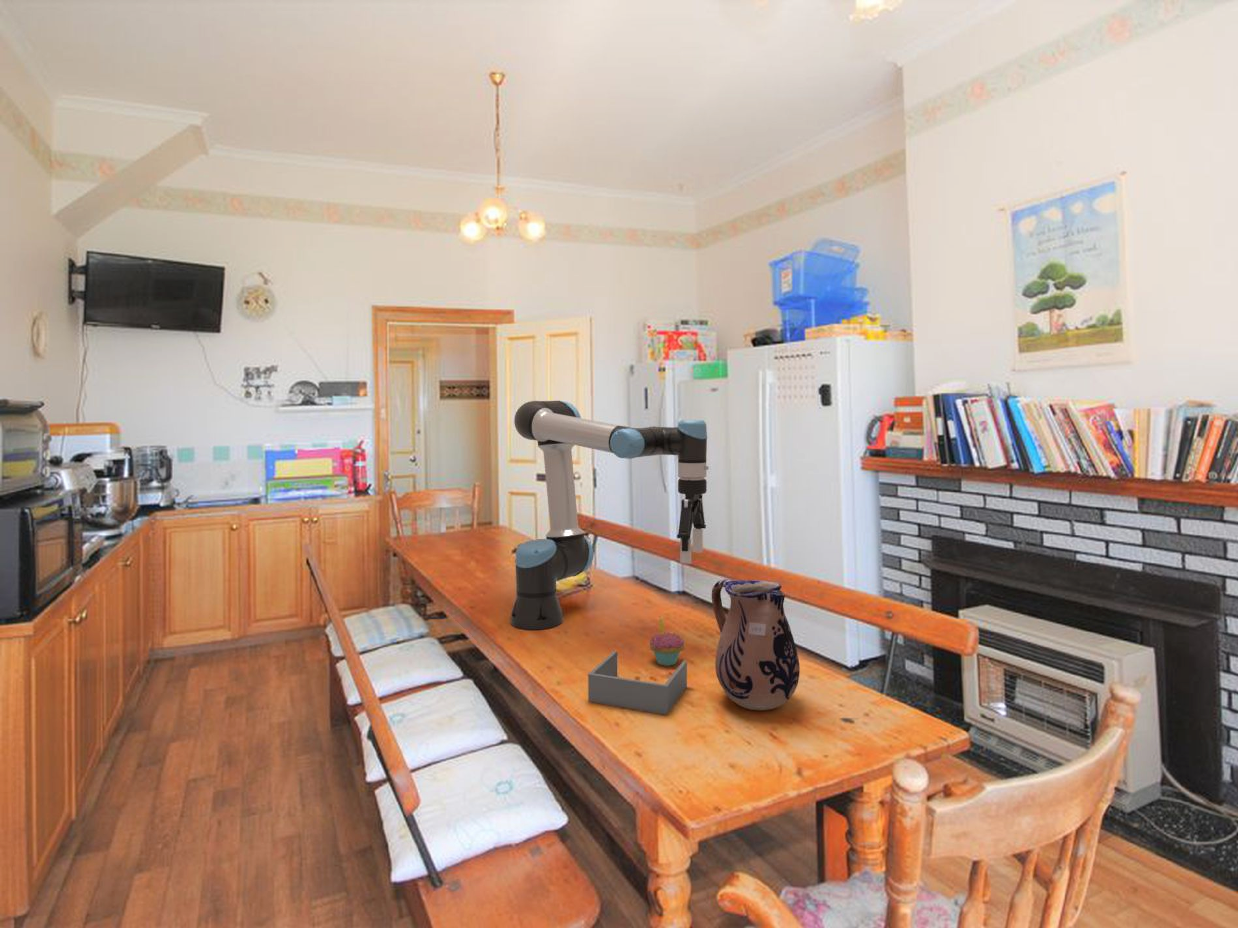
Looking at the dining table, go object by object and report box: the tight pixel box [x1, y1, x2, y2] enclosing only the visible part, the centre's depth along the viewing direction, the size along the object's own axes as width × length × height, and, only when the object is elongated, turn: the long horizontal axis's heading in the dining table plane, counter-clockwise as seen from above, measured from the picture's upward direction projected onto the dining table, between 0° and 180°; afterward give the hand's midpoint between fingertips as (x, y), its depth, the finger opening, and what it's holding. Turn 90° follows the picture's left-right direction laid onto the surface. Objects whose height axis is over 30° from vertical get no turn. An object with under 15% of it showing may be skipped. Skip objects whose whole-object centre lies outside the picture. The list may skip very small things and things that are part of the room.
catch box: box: [587, 650, 688, 716], centre depth 147 cm, size 18×15×6 cm
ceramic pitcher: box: [711, 578, 801, 711], centre depth 143 cm, size 18×21×25 cm
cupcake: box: [649, 615, 685, 667], centre depth 165 cm, size 9×8×12 cm
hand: (691, 557), depth 180 cm, fingers open, 13 cm apart
